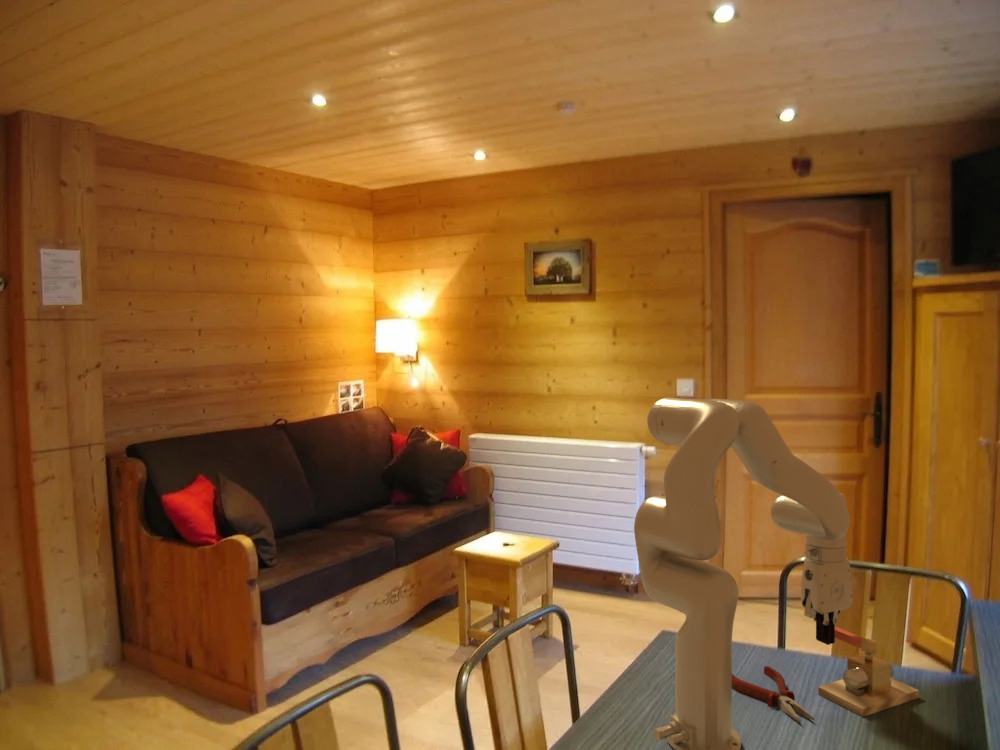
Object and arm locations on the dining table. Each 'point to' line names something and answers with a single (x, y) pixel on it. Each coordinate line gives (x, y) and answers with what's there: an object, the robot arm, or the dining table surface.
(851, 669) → the valve body
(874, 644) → the valve lever
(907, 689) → the mounting board
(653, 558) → the robot arm
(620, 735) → the dining table surface
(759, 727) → the dining table surface
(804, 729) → the dining table surface
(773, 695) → the pliers
